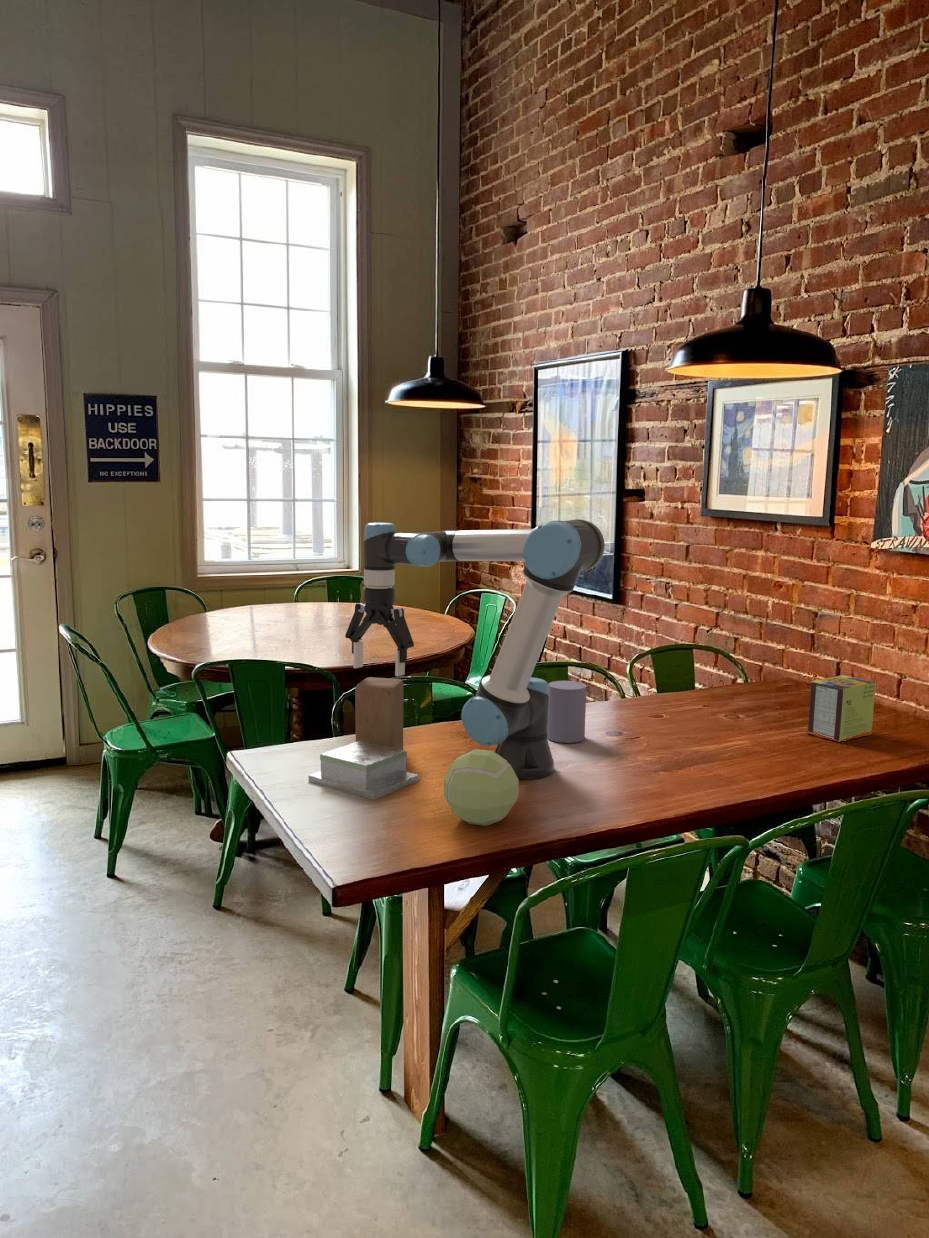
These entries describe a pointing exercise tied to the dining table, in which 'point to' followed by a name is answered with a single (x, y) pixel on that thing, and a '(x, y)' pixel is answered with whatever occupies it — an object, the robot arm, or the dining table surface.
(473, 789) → the tennis ball
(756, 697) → the dining table surface
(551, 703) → the container
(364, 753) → the stand
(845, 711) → the protein box
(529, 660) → the robot arm
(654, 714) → the dining table surface
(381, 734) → the wooden block
